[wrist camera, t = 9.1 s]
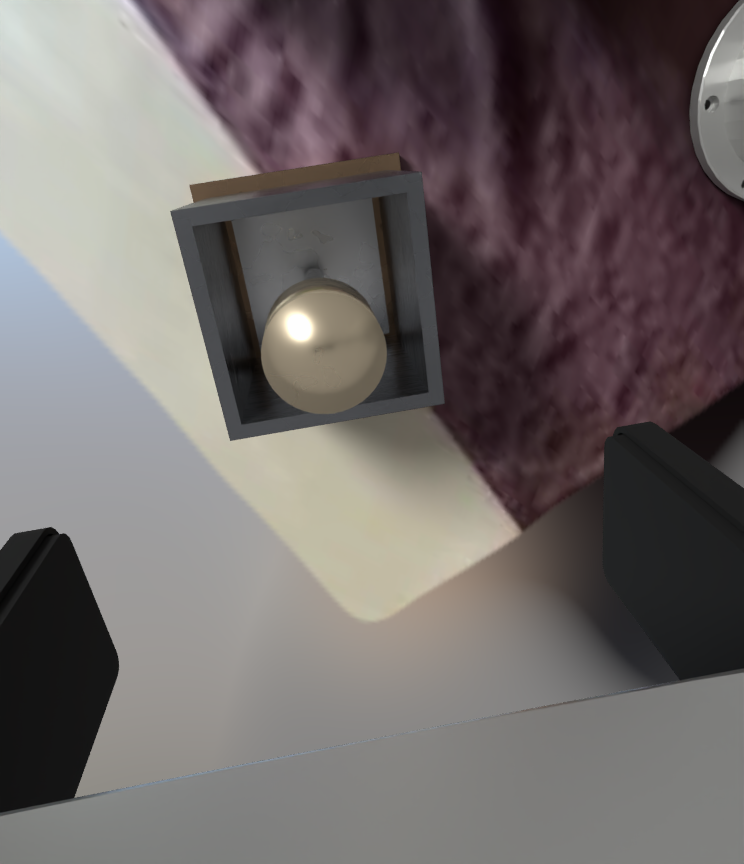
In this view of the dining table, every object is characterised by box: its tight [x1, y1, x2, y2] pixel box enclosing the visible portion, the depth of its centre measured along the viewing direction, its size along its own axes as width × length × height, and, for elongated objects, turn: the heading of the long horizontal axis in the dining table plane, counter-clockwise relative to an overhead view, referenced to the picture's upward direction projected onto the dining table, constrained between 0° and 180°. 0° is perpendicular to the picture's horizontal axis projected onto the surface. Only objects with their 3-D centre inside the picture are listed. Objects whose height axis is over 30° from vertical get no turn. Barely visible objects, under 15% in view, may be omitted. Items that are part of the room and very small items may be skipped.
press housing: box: [170, 153, 445, 441], centre depth 33 cm, size 12×12×12 cm
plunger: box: [231, 198, 390, 414], centre depth 29 cm, size 8×8×17 cm
